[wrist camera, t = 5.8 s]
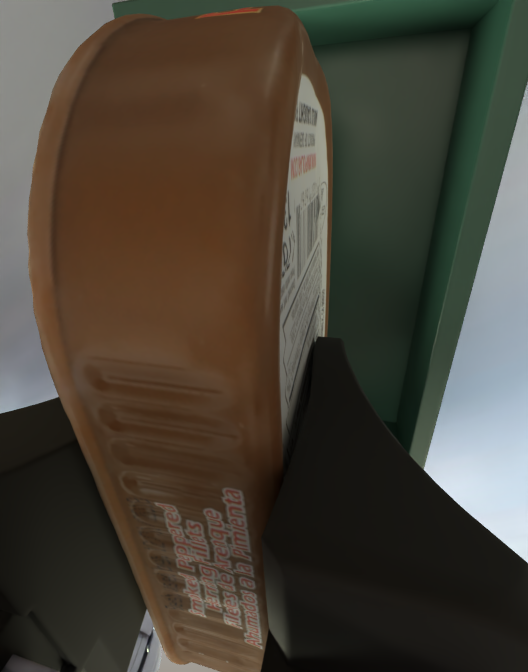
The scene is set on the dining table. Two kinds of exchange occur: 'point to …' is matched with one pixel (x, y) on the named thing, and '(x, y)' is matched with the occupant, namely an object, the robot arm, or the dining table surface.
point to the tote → (406, 176)
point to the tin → (187, 296)
